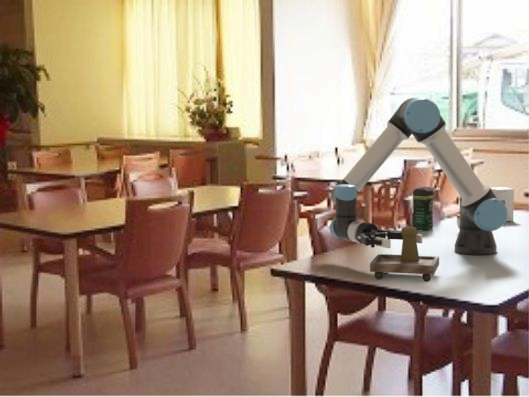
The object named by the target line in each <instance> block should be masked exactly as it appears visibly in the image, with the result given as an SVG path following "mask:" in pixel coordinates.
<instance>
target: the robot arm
mask: <svg viewBox="0 0 529 397" xmlns="http://www.w3.org/2000/svg"><path fill="white" fill-rule="evenodd" d="M386 124H387V126H386V127H385V129H384V130H383V131H382V132H381V134H380V135H379V136H378V137H377V138H376V140H375V141H374V142H373V143H372V144H371V145H370V146H369V148H368V149H367V150H366V151H365V153H364V154H363V155H362V156H361V157H360V158H359V160H358V161H357V162H356V163H355V164H354V165H353V167H352V168H351V169H349V170H350V171H348V173H347V174H346V175H345V176H344V178H342V180H341V181H340V182H339V183H338V184H337V185H335V186H334V187H333V188H332V189H331V192H330V199H331V202H332V203H333V204H334V206H335V217H334V218H333V219H332V220H331V223H330V224H329V231H330V234H331V235H332V236H333V237H334V238H338V239H339V240H344V241H350V242H353V243H357V245H360V244H362V245H364V246H367V247H368V246H370V248H375V246H377V247H381V248H386V249H391V240H400V241H401V240H402V241H403V236H402V234H401V230H399V229H398V230H397V229H389V228H387V229H382V228H378V226H377V225H376V224H375V223H372V222H368V221H363V220H358V216H357V215H358V211H357V210H358V206H357V205H358V195H359V193H360V191H361V190H362V189H363V188H364V187H365V186H366V184H367V183H368V182H369V181H370V180H371V179H372V178H373V176H375V174H376V172H378V171H379V169H380V168H381V167H382V166H383V164H384V163H385V162H386V161H387V159H388V158H390V156H391V155H392V154H393V153H394V151H395V150H396V149H397V148H398V147H399V145H400V144H402V142H403V141H404V140H409V138H410V137H411V136H413V138H414V139H415V140H416V142H417V143H418V144H423V145H424V146H425V148H426V149H427V150H428V151H429V153H430V155H431V157H432V158H433V159H434V160H435V162H436V163H437V165H438V166H439V167H440V169H441V170H442V172H443V173H444V175H445V176H446V177H447V178H448V181H449V182H450V183H451V185H452V186H453V188H454V189H455V190H456V191H457V193H458V195H459V214H460V229H459V232H458V234H457V238H456V239H455V243H454V252H455V253H458V254H463V255H473V256H475V255H476V256H484V255H493V254H496V253H497V251H498V250H497V249H498V248H497V246H498V245H497V243H496V240H495V237H494V234H493V231H497V230H499V229H501V228H502V227H503V226H504V224H505V223H506V219H507V215H508V212H507V208H506V206H505V204H504V203H503V202H502V201H501V200H499V199H498V198H497V197H496V195H495V194H494V193H493V191H492V190H491V188H492V187H490V185H485V184H483V183H482V182H481V180H480V179H479V177H478V175H477V174H476V173H475V171H474V170H473V169H472V167H471V166H470V164H469V162H468V161H467V159H466V158H465V157H464V155H463V154H462V152H461V151H460V149H459V148H458V146H457V145H456V143H455V142H454V141H453V140H452V138H451V136H450V135H449V133H448V131H446V126H447V123H446V121H445V120H444V117H442V115H441V111H440V108H439V107H438V105H437V104H436V103H435V102H434V101H433V100H431V99H429V98H426V97H411V98H408V99H406V100H404V101H403V102H402V103H401V104H400V105H399V106H398V107H397V109H396V111H395V112H394V113H393V115H392V116H391V117H390V119H389V120H388V121H387V123H386ZM416 242H417V244H423V234H419V233H417V236H416Z"/></svg>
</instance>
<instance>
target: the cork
mask: <svg viewBox="0 0 529 397" xmlns="http://www.w3.org/2000/svg"><path fill="white" fill-rule="evenodd" d="M400 231H401V234H402V236H403V240H402V242H401V243H402V244H401V253H400V255H401V261H403V262H416V261H419V256H420V255H419V249H418V243H417V242H416V236H417V234H418V231H417V229H416V228H415V227H412V225H411V226H404V227H402V228H401V230H400Z"/></svg>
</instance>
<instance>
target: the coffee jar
mask: <svg viewBox="0 0 529 397" xmlns="http://www.w3.org/2000/svg"><path fill="white" fill-rule="evenodd" d="M433 200H434V189H433V188H431V187H430V186H422V187H421V186H420V187H417V188H415V189H413V191H412V225H411V227H415V228H416V229H417V230H422V231H425V230H427V231H430V230H432V229H433V227H434V220H433V219H434V216H433V214H434V212H433V206H434V205H433V204H434V202H433Z"/></svg>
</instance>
